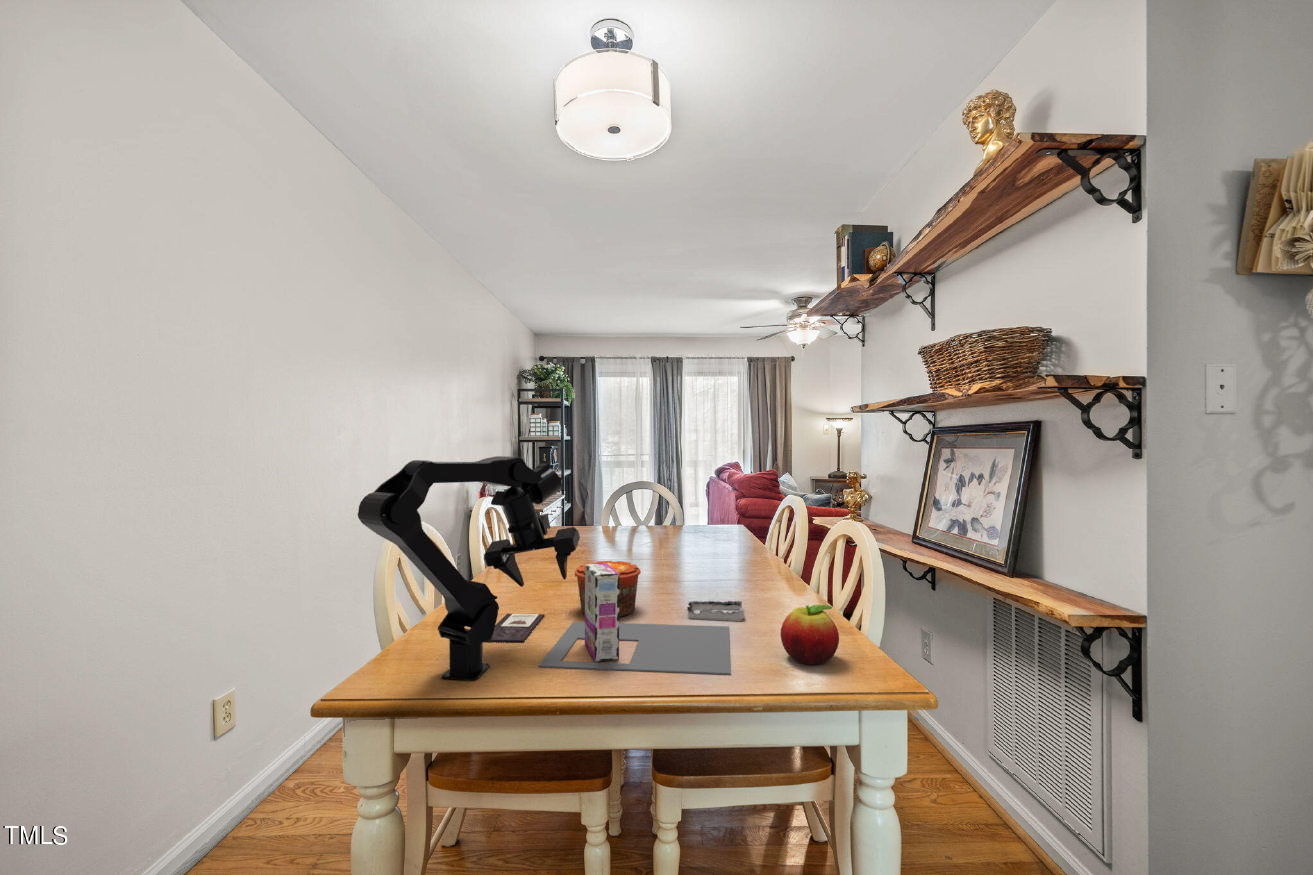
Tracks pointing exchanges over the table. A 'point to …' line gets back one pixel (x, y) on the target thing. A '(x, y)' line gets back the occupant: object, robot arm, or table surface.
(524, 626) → the chocolate bar
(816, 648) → the fruit
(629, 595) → the food container
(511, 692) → the table surface
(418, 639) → the table surface
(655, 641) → the rubber mat
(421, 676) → the table surface
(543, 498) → the robot arm
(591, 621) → the candy bar box
